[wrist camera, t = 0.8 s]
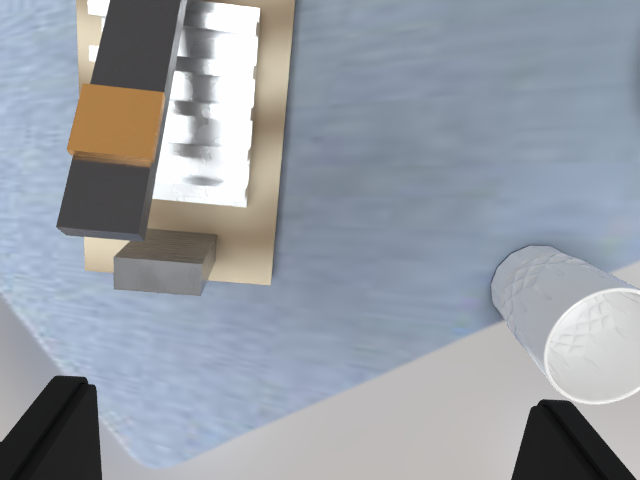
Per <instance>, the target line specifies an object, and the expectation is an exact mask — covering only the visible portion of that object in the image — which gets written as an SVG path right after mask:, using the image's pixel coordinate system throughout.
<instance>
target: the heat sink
mask: <svg viewBox="0 0 640 480" xmlns="http://www.w3.org/2000/svg"><path fill="white" fill-rule="evenodd" d="M109 2H110V0H88V14H90V15H93V16H96V17H98V18H101V19H102V31H103V27H104V23H105V19H106V14H107V10H108V6H109ZM260 23H261V10H260V8H253V7H245V6H237V5H229V4H221V3H213V2H206V1H198V0H187V4H186V10H185V16H184V21H183V27H182V33H181V38H180V44H179V50H178V55H177V61H176V67H175V72H174V78H173V84H172V89H171V95H170V101H169V106H168V112H167V118H166V123H165V129H164V135H163V140H162V146H161V152H160V157H159V163H158V169H157V174H156V180H155V186H154V192H153V197H152V199H161V200H172V201H183V202H194V203H204V204H215V205H226V206H237V207H247V204H248V199H249V185H250V170H251V155H252V141H253V126H254V111H255V96H256V82H257V67H258V52H259V38H260ZM98 48H99V47H98V46H89V61H96V57H97V52H98ZM216 246H217V234H207V233H195V232H184V231H173V230H161V229H150V228H147V231H146V237H145V242H139V241H130V242H129V243H127V244H126V245H125V246H124V247H123V248H122V249H121V250H120V251H119V252H118V253H117V254H116V255H115V256H114V257H113V260H114V289H118V290H131V291H144V292H157V293H170V294H183V295H196V296H201V294H202V292H203V290H204V287H205V285H206V283H207V280H208V278H209V276H210V273H211V271H212V269H213V266H214V264H215V262H216Z"/></svg>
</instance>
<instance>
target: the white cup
mask: <svg viewBox="0 0 640 480" xmlns="http://www.w3.org/2000/svg"><path fill="white" fill-rule="evenodd" d="M491 294H492V302H493V304H494V305H495V307H496V308H497V310H498V311H499V313H500V314H501V316H502V317H503V318H504V319H505V321H506V322H507V325H508V327H509V329H510V330H511V331H512V332H513V334H514V335H515V337H516V339H517V340H518V341H519V343H520V344H521V345H522V346H523V347H524V349H525V350H526V352H527V353H528V354H529V355H530V357H531V358H532V359H533V361H534V362H535V363H536V364H537V366H538V367H539V368H540V370H541V371H542V372H543V374H544V375H545V376H546V377H547V379H548V380H549V382H550V383H551V384H552V386H553V387H554V388H555V389H556V390H557V391H558V392H559V393H561V394H562V395H563V396H565V397H566V398H568V399H571V400H573V401H575V402H579V403H583V404H593V405H596V404H607V403H612V402H616V401H619V400H622V399H624V398H627V397H629V396H631V395H633V394H635V393H636V392H638V391H639V390H640V289H638V288H636V287H634V286H632V285H630V284H628V283H626V282H624V281H622V280H620V279H618V278H616V277H615V276H613V275H611V274H608V273H606V272H604V271H603V270H601V269H599V268H597V267H595V266H593V265H591V264H589V263H587V262H584V261H582V260H580V259H578V258H575V257H571V256H569V255H566V254H564V253H562V252H560V251H558V250H556V249H554V248H552V247H551V246H528V247H525V248H523V249H520V250H518V251H516V252H513V253H511V254H510V255H509V256H508V257H507V258H506V259H505V260H504V261H503V262H502V263H501V264H500V265H499V266H498V267H497V270H496V272H495V275H494V278H493V280H492V283H491Z"/></svg>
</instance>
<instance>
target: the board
mask: <svg viewBox="0 0 640 480" xmlns="http://www.w3.org/2000/svg"><path fill="white" fill-rule="evenodd" d="M198 1H206V2H213V3H221V4H229V5H237V6H245V7H253V8H260V10H261V23H260V38H259V52H258V67H257V82H256V96H255V111H254V126H253V141H252V155H251V170H250V185H249V199H248V204H247V207H237V206H226V205H215V204H204V203H194V202H183V201H172V200H161V199H152V203H151V209H150V214H149V220H148V226H147V228H150V229H161V230H173V231H184V232H195V233H207V234H217V246H216V262H215V264H214V266H213V269H212V271H211V273H210V276H209V278H208V280H210V281H222V282H235V283H247V284H260V285H271V277H272V265H273V254H274V242H275V231H276V219H277V207H278V196H279V184H280V173H281V161H282V150H283V138H284V126H285V115H286V103H287V92H288V80H289V68H290V57H291V45H292V34H293V22H294V10H295V0H198ZM76 10H77V39H78V69H79V97H80V93H81V89H82V85H83V83H85V84H90V82H91V78H92V74H93V69H94V65H95V61H89V46H98V47H99V44H100V40H101V36H102V19H101V18H98V17H96V16H93V15H90V14H88V0H76ZM129 242H130V241H128V240H116V239H104V238H93V237H84V249H85V271H97V272H110V273H114V260H113V257H114V256H115V255H116V254H117V253H118V252H119V251H120V250H121V249H122V248H123V247H124V246H125V245H126V244H127V243H129Z"/></svg>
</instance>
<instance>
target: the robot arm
mask: <svg viewBox="0 0 640 480" xmlns="http://www.w3.org/2000/svg"><path fill="white" fill-rule="evenodd" d="M0 480H102V471H101V455H100V440H99V423H98V407H97V391H96V387H95V385H91V384H88V381H87V378H85V377H77V376H55V377H54V378H53V379H51V381H50V382H49V383H48V385H47V386H46V387H45V388H44V390H43V391H42V392H41V393H40V395H39V396H38V397H37V398H36V400H35V401H34V402H33V404H32V405H31V406H30V407H29V409H28V410H27V411H26V412H25V414H24V415H23V416H22V417H21V418H20V420H19V421H18V422H17V424H16V425H15V426H14V427H13V428H12V430H11V431H10V432H9V434H8V435H7V436H6V437H5V439H4V440H3V441H2V442H0ZM511 480H636V478H635V477H634V476H633V475H632V474H631V472H630V471H629V470H628V469H627V468H626V467H625V465H624V464H623V463H622V462H621V461H620V459H619V458H618V457H617V456H616V455H615V453H614V452H613V451H612V450H611V449H610V447H609V446H608V445H607V444H606V443H605V441H604V440H603V439H602V438H601V437H600V436H599V434H598V433H597V432H596V431H595V430H594V428H593V427H592V426H591V425H590V424H589V422H588V421H587V420H586V419H585V418H584V416H583V415H582V414H581V413H580V412H579V411H578V409H577V408H576V407H575V406H574V405H573V404H572V403H571V402H569V401H565V400H544V399H543V400H541V401H540V402H539V403H538V405H537V406H533V407H532V408H531V410H530V413H529V417H528V420H527V424H526V428H525V431H524V435H523V439H522V442H521V446H520V450H519V453H518V457H517V461H516V464H515V468H514V472H513V475H512V479H511Z"/></svg>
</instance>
